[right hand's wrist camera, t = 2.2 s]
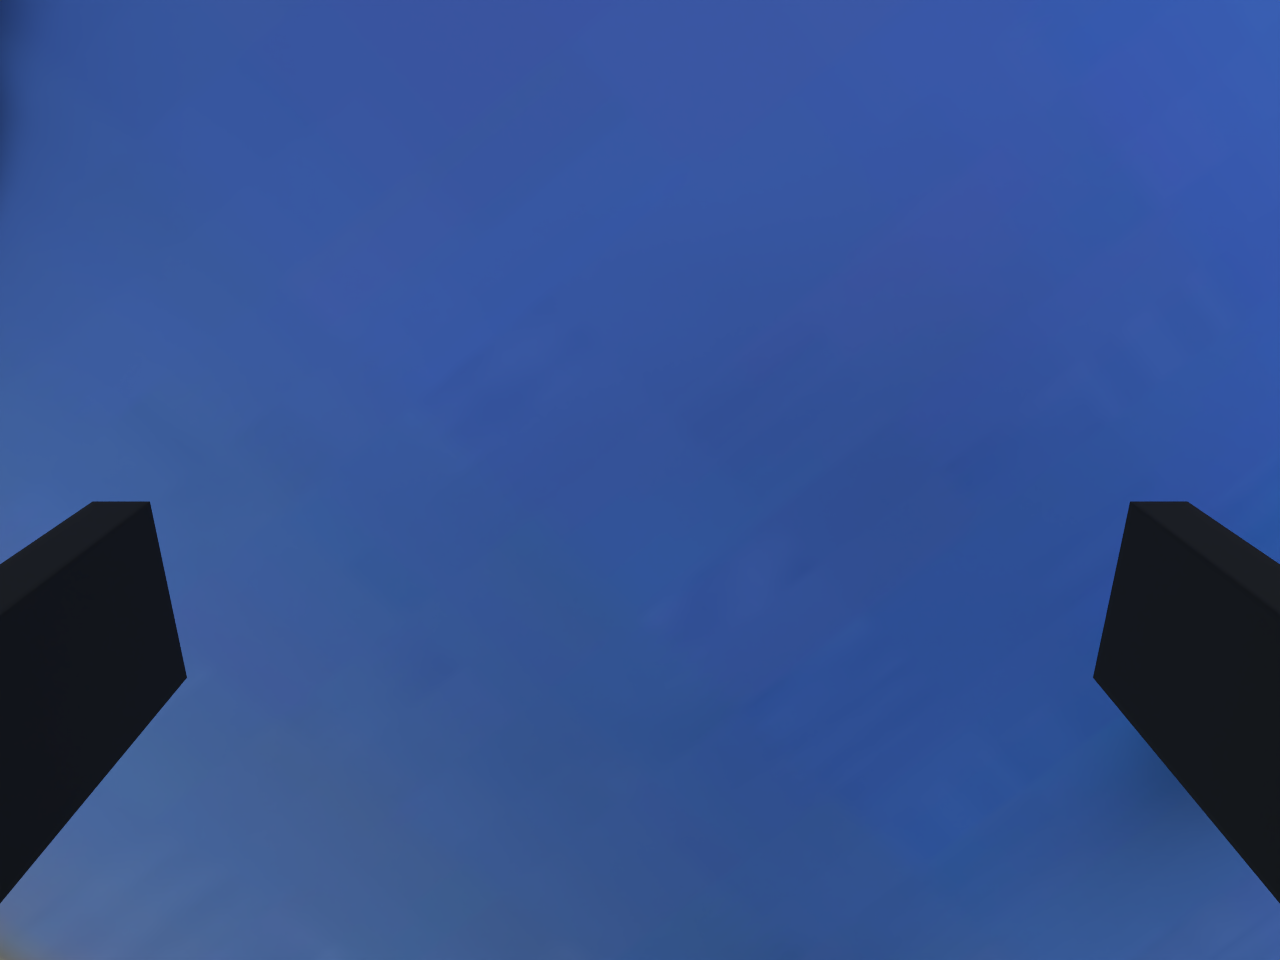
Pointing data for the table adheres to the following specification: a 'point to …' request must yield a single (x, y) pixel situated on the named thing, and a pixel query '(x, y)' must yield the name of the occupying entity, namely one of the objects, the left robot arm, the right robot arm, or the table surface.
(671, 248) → the table surface
